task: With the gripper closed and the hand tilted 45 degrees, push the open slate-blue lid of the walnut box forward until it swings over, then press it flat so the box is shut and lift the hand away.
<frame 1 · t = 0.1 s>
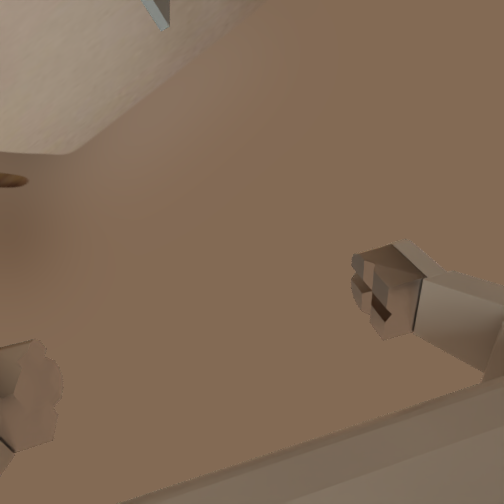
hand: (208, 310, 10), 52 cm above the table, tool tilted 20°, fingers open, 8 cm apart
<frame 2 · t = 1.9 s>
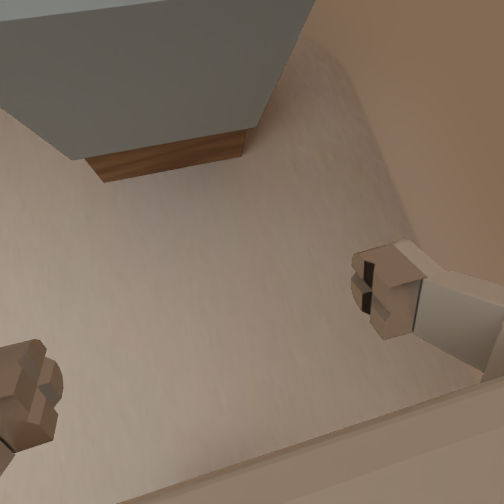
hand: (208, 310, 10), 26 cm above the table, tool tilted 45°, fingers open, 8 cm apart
box: (158, 98, 39), on the table
lid: (154, 93, 21), point 16 cm above the table, hinge at 100.0°
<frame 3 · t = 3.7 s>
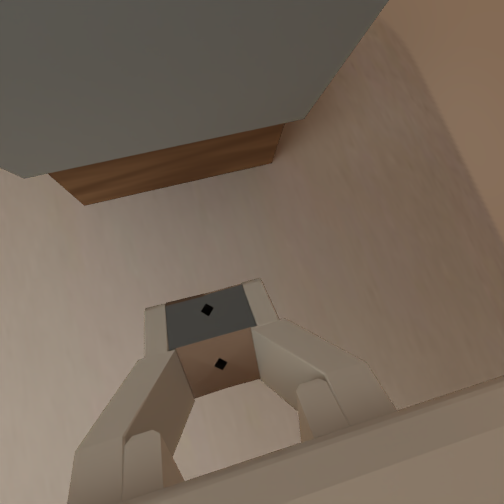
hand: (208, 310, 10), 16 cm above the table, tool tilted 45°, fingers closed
box: (156, 88, 29), on the table
lid: (144, 51, 11), point 16 cm above the table, hinge at 100.0°
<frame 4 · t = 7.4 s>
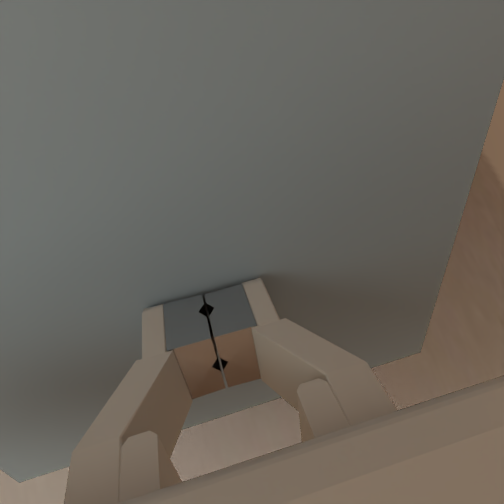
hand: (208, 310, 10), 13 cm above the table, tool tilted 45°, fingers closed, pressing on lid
lid: (178, 215, 8), point 14 cm above the table, hinge at 48.1°, touching gripper
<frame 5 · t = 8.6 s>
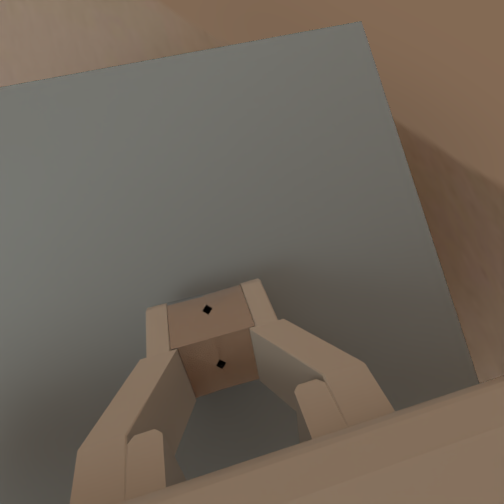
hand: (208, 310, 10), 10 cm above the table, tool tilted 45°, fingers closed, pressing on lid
lid: (203, 338, 11), point 9 cm above the table, hinge at 3.5°, touching gripper
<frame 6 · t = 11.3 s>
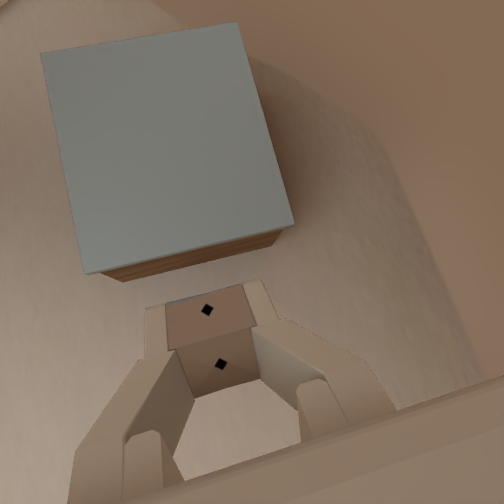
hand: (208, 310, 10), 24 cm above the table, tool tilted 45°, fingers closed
box: (179, 183, 35), on the table
lid: (167, 140, 27), point 9 cm above the table, hinge at 1.4°
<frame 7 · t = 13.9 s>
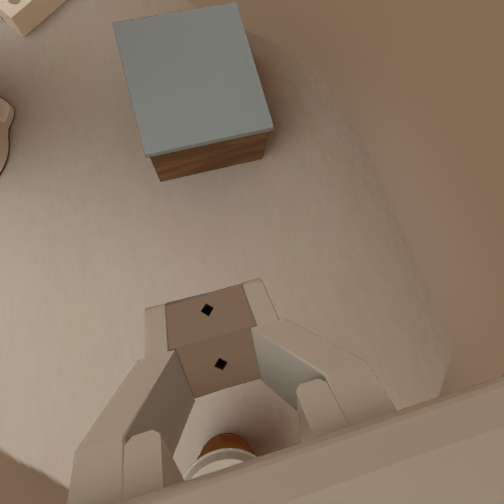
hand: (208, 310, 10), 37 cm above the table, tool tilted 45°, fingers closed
box: (197, 117, 51), on the table
lid: (192, 76, 43), point 9 cm above the table, hinge at 1.4°
disposable coffee cup: (226, 461, 43), on the table
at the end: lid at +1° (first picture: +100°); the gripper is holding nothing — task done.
